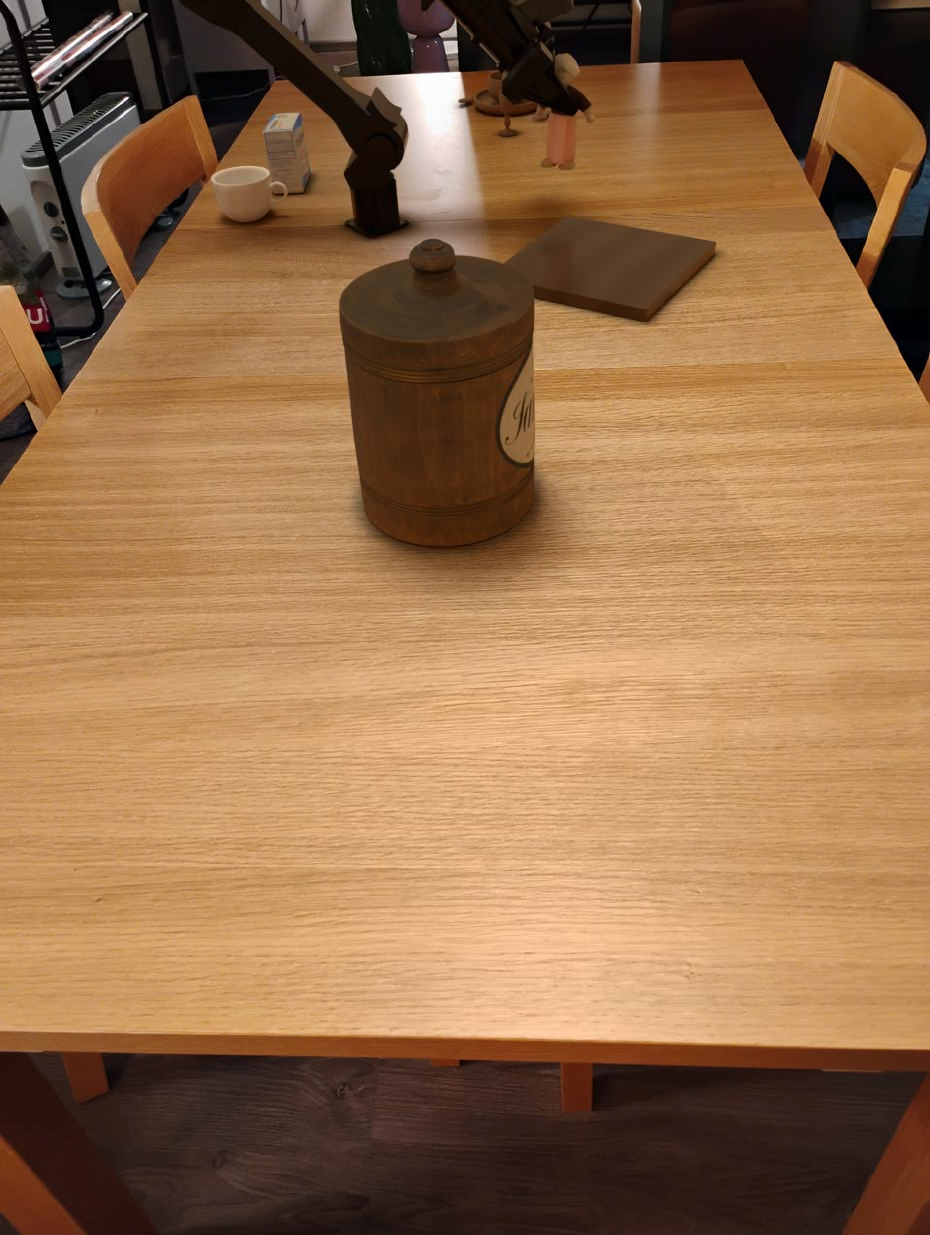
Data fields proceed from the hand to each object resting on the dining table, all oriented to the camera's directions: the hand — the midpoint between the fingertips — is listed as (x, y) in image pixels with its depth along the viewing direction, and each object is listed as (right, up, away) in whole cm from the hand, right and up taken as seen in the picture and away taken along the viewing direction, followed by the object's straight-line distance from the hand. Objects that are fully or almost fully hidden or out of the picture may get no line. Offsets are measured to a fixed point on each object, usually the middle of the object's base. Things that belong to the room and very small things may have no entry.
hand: (575, 109), depth 121 cm
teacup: (-42, -7, +16) cm, 45 cm away
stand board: (+3, -21, -3) cm, 21 cm away
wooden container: (-15, -51, -35) cm, 64 cm away
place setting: (-8, +22, +45) cm, 50 cm away
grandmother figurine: (-1, -5, +5) cm, 7 cm away
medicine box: (-39, +1, +24) cm, 45 cm away
